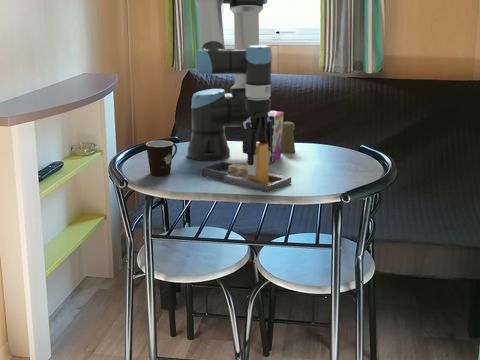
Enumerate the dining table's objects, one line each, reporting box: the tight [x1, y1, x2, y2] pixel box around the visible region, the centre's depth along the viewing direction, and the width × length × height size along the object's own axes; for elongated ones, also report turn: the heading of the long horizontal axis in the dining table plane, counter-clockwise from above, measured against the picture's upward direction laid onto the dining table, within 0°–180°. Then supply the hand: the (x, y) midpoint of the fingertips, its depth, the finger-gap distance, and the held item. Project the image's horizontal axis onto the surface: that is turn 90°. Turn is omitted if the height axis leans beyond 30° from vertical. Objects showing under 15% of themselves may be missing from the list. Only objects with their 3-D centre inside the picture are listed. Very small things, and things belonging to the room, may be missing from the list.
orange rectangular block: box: [248, 142, 270, 183], centre depth 208 cm, size 4×4×12 cm
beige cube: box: [227, 163, 247, 176], centre depth 214 cm, size 4×4×4 cm
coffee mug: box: [145, 140, 178, 177], centre depth 217 cm, size 12×9×10 cm
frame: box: [201, 161, 234, 182], centre depth 217 cm, size 10×11×2 cm
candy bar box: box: [268, 110, 284, 165], centre depth 234 cm, size 11×5×16 cm, turn 159°
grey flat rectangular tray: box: [223, 171, 292, 193], centre depth 209 cm, size 17×12×2 cm
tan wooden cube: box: [238, 165, 248, 178], centre depth 211 cm, size 4×4×4 cm
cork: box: [281, 121, 296, 155], centre depth 246 cm, size 6×6×11 cm
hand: (257, 172), depth 209 cm, fingers closed on orange rectangular block, 4 cm apart
